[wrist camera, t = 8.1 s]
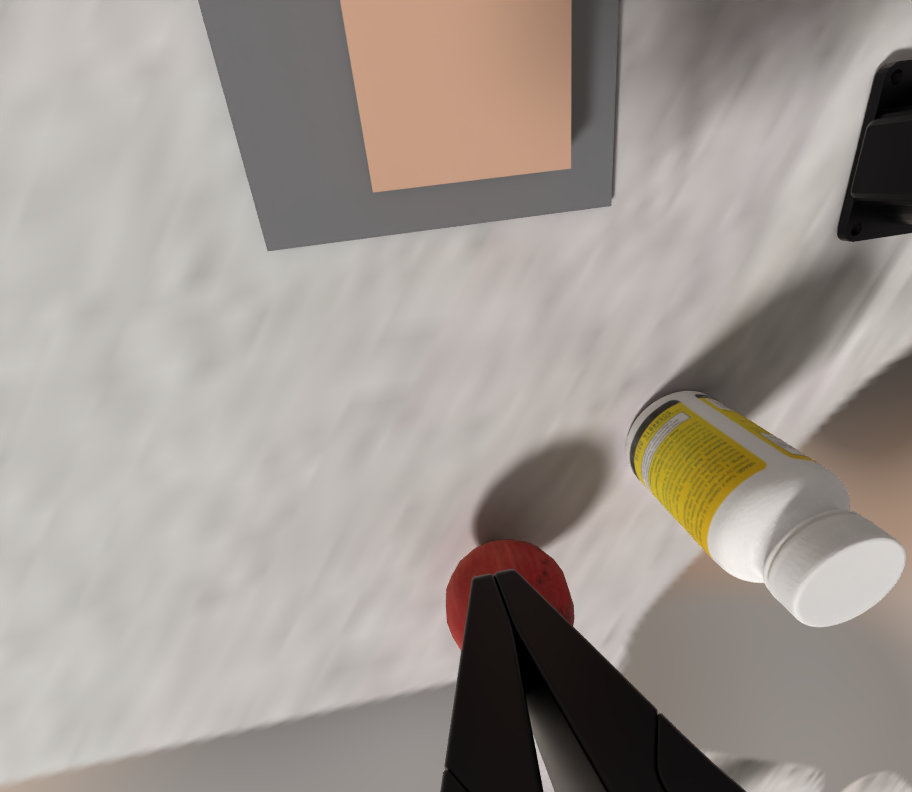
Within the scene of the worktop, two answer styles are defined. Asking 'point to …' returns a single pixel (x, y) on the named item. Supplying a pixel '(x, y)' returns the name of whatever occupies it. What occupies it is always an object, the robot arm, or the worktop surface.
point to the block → (460, 88)
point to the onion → (498, 558)
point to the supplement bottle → (762, 508)
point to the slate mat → (341, 139)
